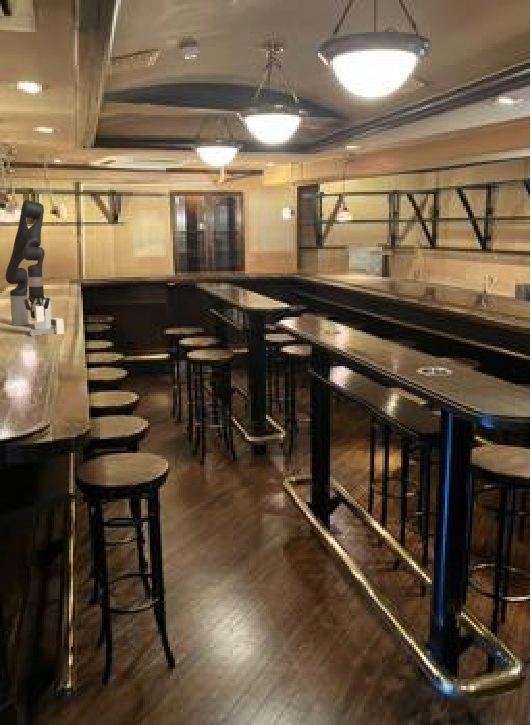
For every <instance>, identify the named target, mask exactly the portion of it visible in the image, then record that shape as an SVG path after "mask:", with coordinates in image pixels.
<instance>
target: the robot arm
mask: <svg viewBox="0 0 531 725" xmlns="http://www.w3.org/2000/svg"><path fill="white" fill-rule="evenodd" d="M44 208H45V207H44V204H42V203H40V202H37V201H32V200H29V199H28V200H27V199H25V200H23V202H22V205H21V209H20V217H19V221H18V226H17V231H16V235H15V239H14V243H13V249H12V252H11V256H10V260H9V262H8V266H7V268H6V272H5V281H6V282H7V284H9V285H16V287H15V288H13V289H11V290H10V291H9V298H10V312H11V313H10V314H11V315H10V316H11V325H12V326H16V327H17V326H19V327H20V326H29V324H30V322H29V312H30V318H31V317H32V318H35V314H34V306H36V305H37V304H39V305H40V306H43V309H44V310H45V309H48V305H49V301H50V302H51V298H50V297H46V295H45V292H44V291H45V290H44V278H43V263H44V259H45V249H44V248H43V247H42V246H41V244H42V235H41V234H42V226H43V219H44V211H45V209H44ZM27 219H32V220H36V221H35V222H34V223H33V224H32V225H31V226H30V227H28V223H27ZM24 260H25V261H30V262H31V261H34V262H35V261H36V262H37V263H36V264H35V263H34V264H31V265H28V266H27V270H26V269H25V268H24V267H20V265H21V263H22V262H23V261H24ZM44 295H45V296H44ZM44 300H45V304H43V301H44ZM29 302H30V304H29ZM30 306H31V307H30ZM44 316H45V312H44Z"/></svg>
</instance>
